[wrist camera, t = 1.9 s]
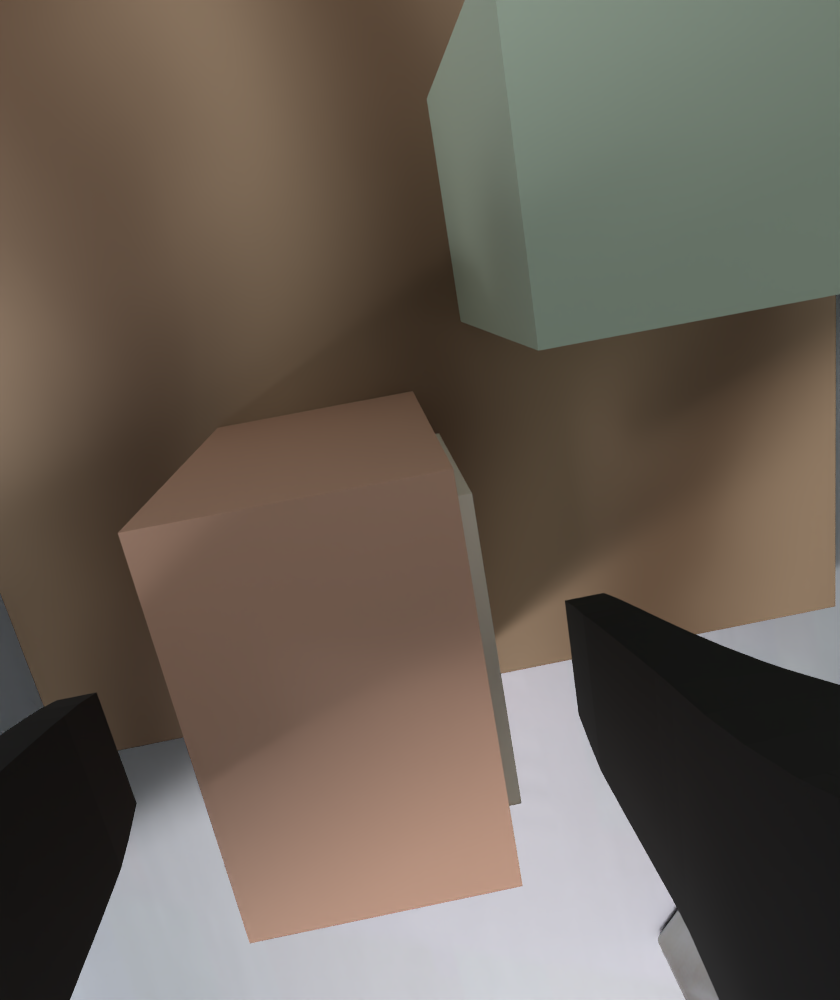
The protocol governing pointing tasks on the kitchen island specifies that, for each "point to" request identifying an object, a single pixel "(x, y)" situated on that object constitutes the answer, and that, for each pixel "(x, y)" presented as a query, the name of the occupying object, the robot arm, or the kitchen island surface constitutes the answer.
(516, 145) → the sage box
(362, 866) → the terracotta box
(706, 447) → the shelf board
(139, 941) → the kitchen island surface
